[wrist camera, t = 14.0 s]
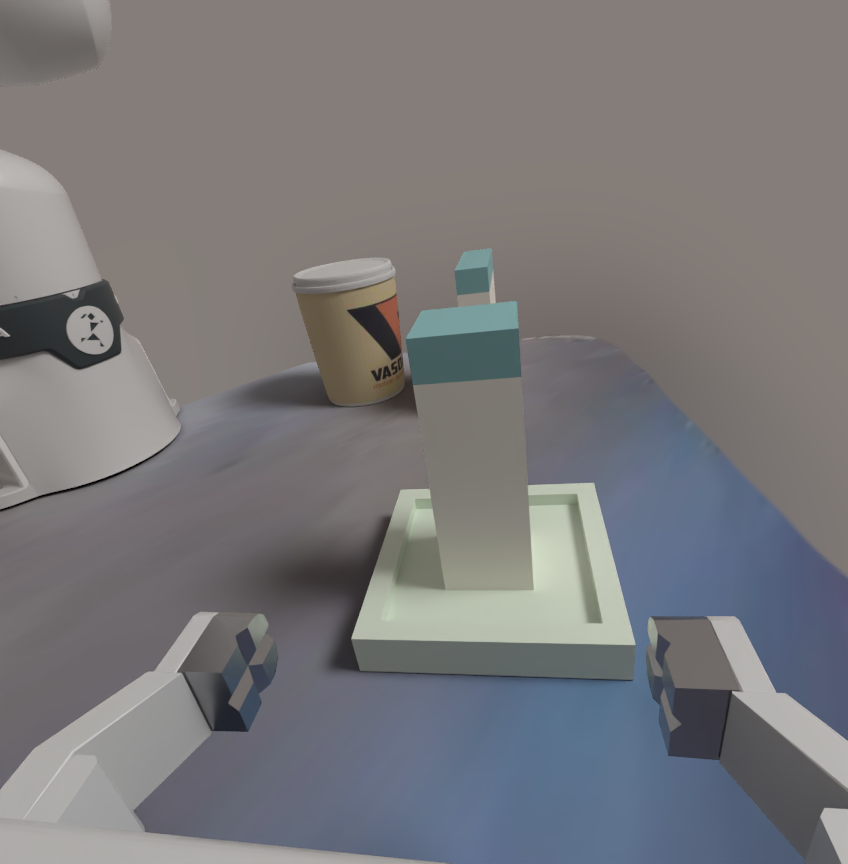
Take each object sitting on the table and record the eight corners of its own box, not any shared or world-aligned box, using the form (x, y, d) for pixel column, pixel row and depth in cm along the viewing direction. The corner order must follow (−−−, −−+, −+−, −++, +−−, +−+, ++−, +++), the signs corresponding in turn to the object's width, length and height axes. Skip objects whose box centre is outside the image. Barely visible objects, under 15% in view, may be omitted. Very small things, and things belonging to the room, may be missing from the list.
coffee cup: (388, 412, 46) (363, 275, 41) (301, 409, 50) (268, 282, 45) (427, 374, 54) (409, 253, 49) (349, 373, 57) (325, 261, 52)
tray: (360, 670, 22) (351, 638, 21) (405, 515, 32) (400, 489, 31) (633, 680, 20) (635, 645, 19) (593, 510, 30) (593, 482, 29)
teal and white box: (469, 415, 43) (453, 270, 38) (475, 376, 51) (462, 251, 46) (500, 413, 43) (488, 266, 38) (502, 374, 51) (492, 248, 46)
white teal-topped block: (445, 590, 24) (405, 339, 19) (453, 535, 28) (421, 310, 22) (533, 590, 23) (518, 328, 18) (530, 533, 27) (516, 300, 21)
